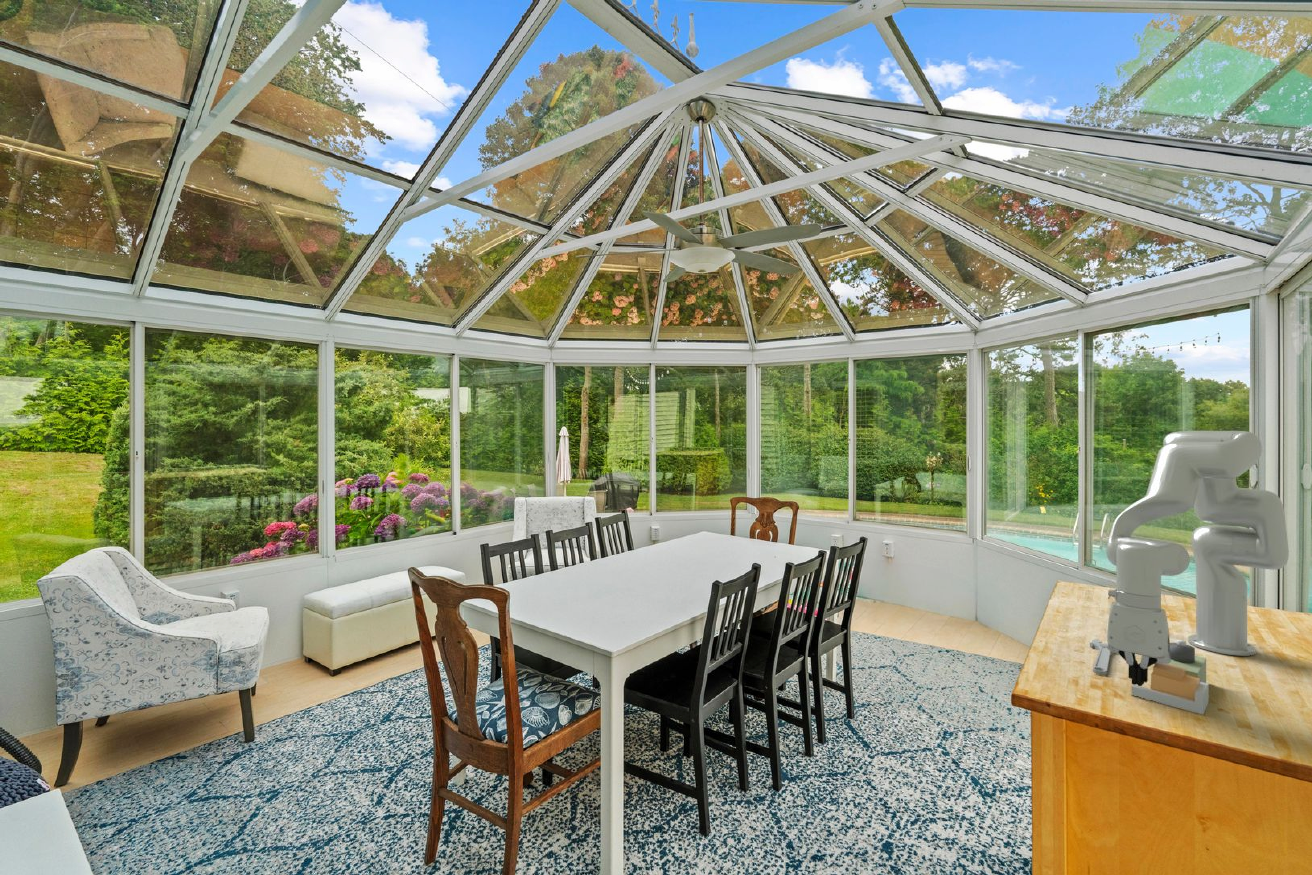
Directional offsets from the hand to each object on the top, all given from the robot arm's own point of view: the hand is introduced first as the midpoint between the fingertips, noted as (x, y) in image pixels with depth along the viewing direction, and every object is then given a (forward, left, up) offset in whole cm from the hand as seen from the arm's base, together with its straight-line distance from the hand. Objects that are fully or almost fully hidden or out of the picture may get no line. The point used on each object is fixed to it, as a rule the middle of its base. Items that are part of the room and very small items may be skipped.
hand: (1138, 683), depth 126 cm
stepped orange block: (0, +6, -1) cm, 6 cm away
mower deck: (-6, +5, -1) cm, 8 cm away
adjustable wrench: (-16, -10, -2) cm, 19 cm away
